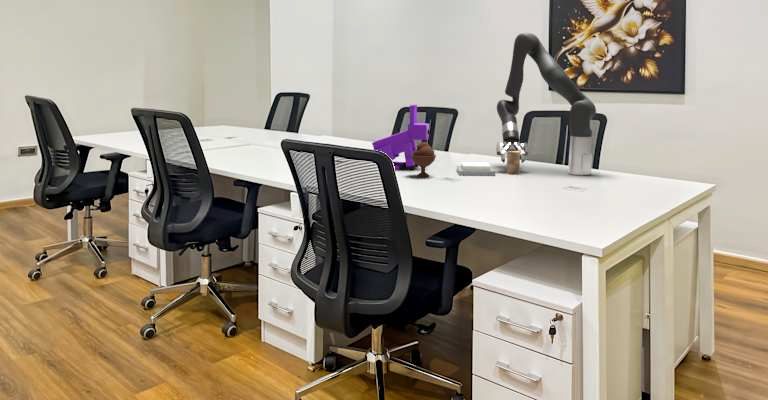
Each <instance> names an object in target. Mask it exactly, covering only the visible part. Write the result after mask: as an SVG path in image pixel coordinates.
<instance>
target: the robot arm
mask: <svg viewBox="0 0 768 400" xmlns="http://www.w3.org/2000/svg"><path fill="white" fill-rule="evenodd" d="M512 49H513V50H512V51H513V52H512V58H511V59H512V60H511V65H510V71H509V76H508V80H507V82H506V85H505V89H504V93H505V95H507V96H508V97H510V98H511V99H512V100H509V99H508V100H507V99H501V100H499V101H498V102H497V103H496V112H497V114H498V117H499V119H500V120H501V127H502V130H501V135H502V142H503V143H501V142H499V141H497V143H496V155H497V156H500V161H501V162H502V163H503V164H504V163H505V161H506V156H505V155H507V151H519V152H520V163H522V164H523V163H524V162H525V161H526V157H527V156H528V155H529V148H528V143H527V142H526V141H525V142H524V143H521V142H520V134H519V133H520V132H519V128H518V127H519V126H518V121H517V117H516V116H517V114H518V113H519V109H520V93H521V90H522V86H523V83H524V65H525V60H526V58H527V55H528V56H529V57H530V58H531V59H532V60H533V61H534V62H535V64H536V65H537V67H538V71H539V74H540V75H541V77H542V78H543V81H545V83H546V84H547V85H548V87H550V89H552V90H553V91H554V92H555V93H557V94H558V95H560V96H561V97H562V98H563V99H565V101H567V102H568V103H569V104H570V106H571V107H570V110H569V127H568V128H569V131H570V136H569V137H570V139H569V153H568V169H567V170H568V171H567V174H569V175H576V176H587V175H591V174H592V164H593V163H592V162H593V152H592V153H591V151H592V149H591V148H592V136H593V131H592V128H591V125H590V123H591V122H590V121H591V120H592V119H593V118H595V115H596V112H597V109H596V106H595V104H594V103H593V102H592V101H591V100H590V99H589V98H588V97H587V96H586V95H585V94H584V93H583V92H582V91H581V90H580V89H579V88H578V87H577V85H576V84H575V82H574V81H573V80H572V79H571V78H570V76H569V75H568V73H567V72H566V71H565V70H564V68H562V66H560V64H559V63H558V62H557V60H555V59H554V57H553V56H552V55H550V53H549V52H548V51H547V50H546V48H545V47H544V45H543V44H542V42H541V40H540V39H539V37H537V35H535V34H534V33H532V32H531V33H530V32H529V33H528V32H521V33H519V34H518V35H517V36H516V37H515V40H514V43H513V48H512ZM501 148H503V149H502V150H501Z"/></svg>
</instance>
